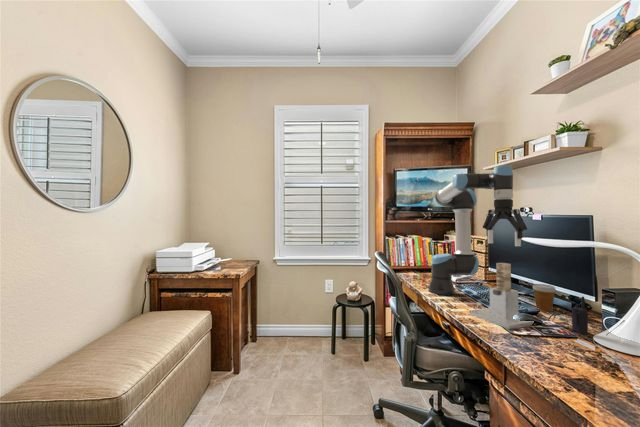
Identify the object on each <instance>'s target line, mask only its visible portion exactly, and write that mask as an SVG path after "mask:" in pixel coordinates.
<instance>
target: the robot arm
mask: <svg viewBox="0 0 640 427" xmlns="http://www.w3.org/2000/svg"><path fill="white" fill-rule="evenodd" d="M473 189H474V190H475V189H483V190H484V189H485V190H493V199H494V200H493V208H494V209H488V211H487V216H486V218H485V220H484V222H483V225H482V229H485V230H486V237H487V244H494V229H493V228H494V226H496V224H497V222H499V220H507V221H509V223H510V224H511V226H512V227H513V228H514V229H515V231H514V247H521V246H522V242H521V241H522V239H523V232H524V231H528V227H527V225H526V222H524V219H523V216H521V211H520V209H519V208H514V209H513V207H514V201H513V200H514V173H513V166H512V165H509V164H508V165H497V166H495V167H494V168H493V172H491V173H490V172H489V173H463V172H462V173H456V174H454V175H453V177H452V180H451V182H449V184H448V185H446V186H445V187H441V188H439V189H438V190H437V191H436V193H435V194H434V198H435V202H436V203H437V204H438V205H439V206H441V207H444V208H452V209H451V211H453V213H454V218H455V220H454V224H455V251H454V252H453V255H452V254H451V253H439V254H438V253H437V254H435V255H432V256H431V260H430V261H431V262H430V263H431V264H430V265H431V278H430V282H429V286H428V291H429V293H432V294H437V295H443V296H444V295H445V296H448V295H454V294H455V293H456V289H455V287H454V284H453V283H454V282H453V278H452V276H474V275H476V274H477V273H478V270H479V267H480V266H479V265H480V262H479V258H478V257H477V256H475V253H474V252H473V251H472V229H471V228H472V226H471V212H472V211H473V210H474V209H473V208H475V207H476V205H477V195H476V193H475V191H474V190H473Z"/></svg>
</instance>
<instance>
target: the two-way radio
mask: <svg viewBox="0 0 640 427" xmlns="http://www.w3.org/2000/svg"><path fill="white" fill-rule="evenodd" d="M585 305H586V304H585V296H581V307H580V303H575V306H574V307H572V308H571V324H572V326H571V327H572V329H571V330H572V331H574V332H576V333H578V334H581V335H587V334H588V333H589V332H588V331H589V310H587V308H586V307H585Z"/></svg>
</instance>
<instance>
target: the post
mask: <svg viewBox="0 0 640 427" xmlns="http://www.w3.org/2000/svg"><path fill="white" fill-rule="evenodd" d="M511 266H512V265H511V263H507V262H496V271H495V272H496V287H497V289H498V290H502V291H511V289H512V279H511V278H512V275H511V274H512V273H511V272H512V271H511V270H512V267H511Z"/></svg>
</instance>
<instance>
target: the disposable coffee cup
mask: <svg viewBox="0 0 640 427" xmlns="http://www.w3.org/2000/svg"><path fill="white" fill-rule="evenodd" d="M532 289H533V294H534V295H533V296H534V301H535V308H536V307H537V308H539V309H540V310H539V311H541V310H542V311H541V312H552V311H553V308H554V307H553V305H554V300H555V293H556V291H557V289H556V287H555V286H553V285H550V284H545V283H534V284H533V285H532ZM537 308H536V309H537Z"/></svg>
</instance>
